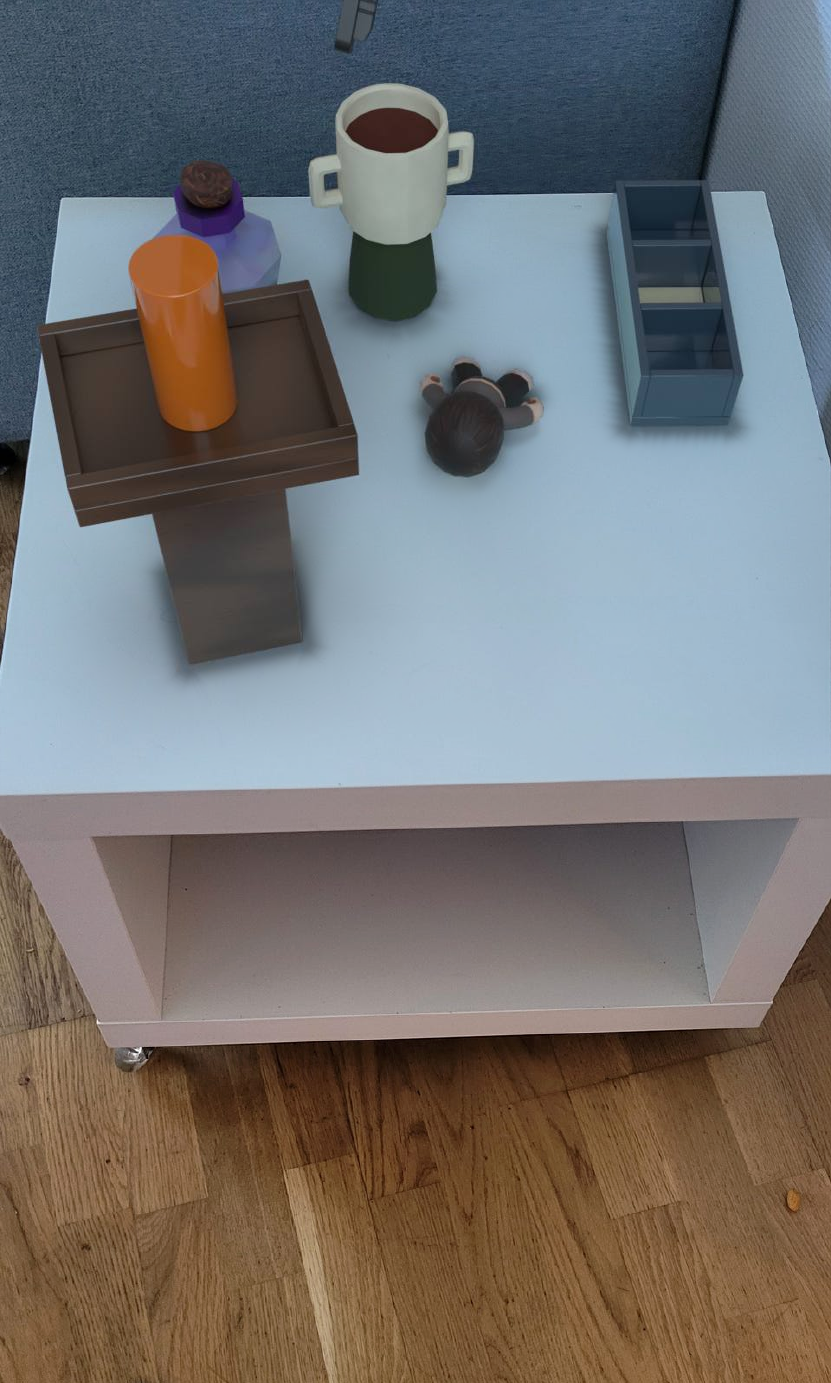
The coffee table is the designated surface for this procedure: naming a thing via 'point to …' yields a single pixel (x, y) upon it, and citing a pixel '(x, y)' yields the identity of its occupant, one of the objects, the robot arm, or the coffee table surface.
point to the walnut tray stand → (207, 458)
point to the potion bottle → (225, 227)
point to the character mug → (391, 192)
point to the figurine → (475, 416)
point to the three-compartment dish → (672, 304)
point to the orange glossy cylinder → (184, 331)
